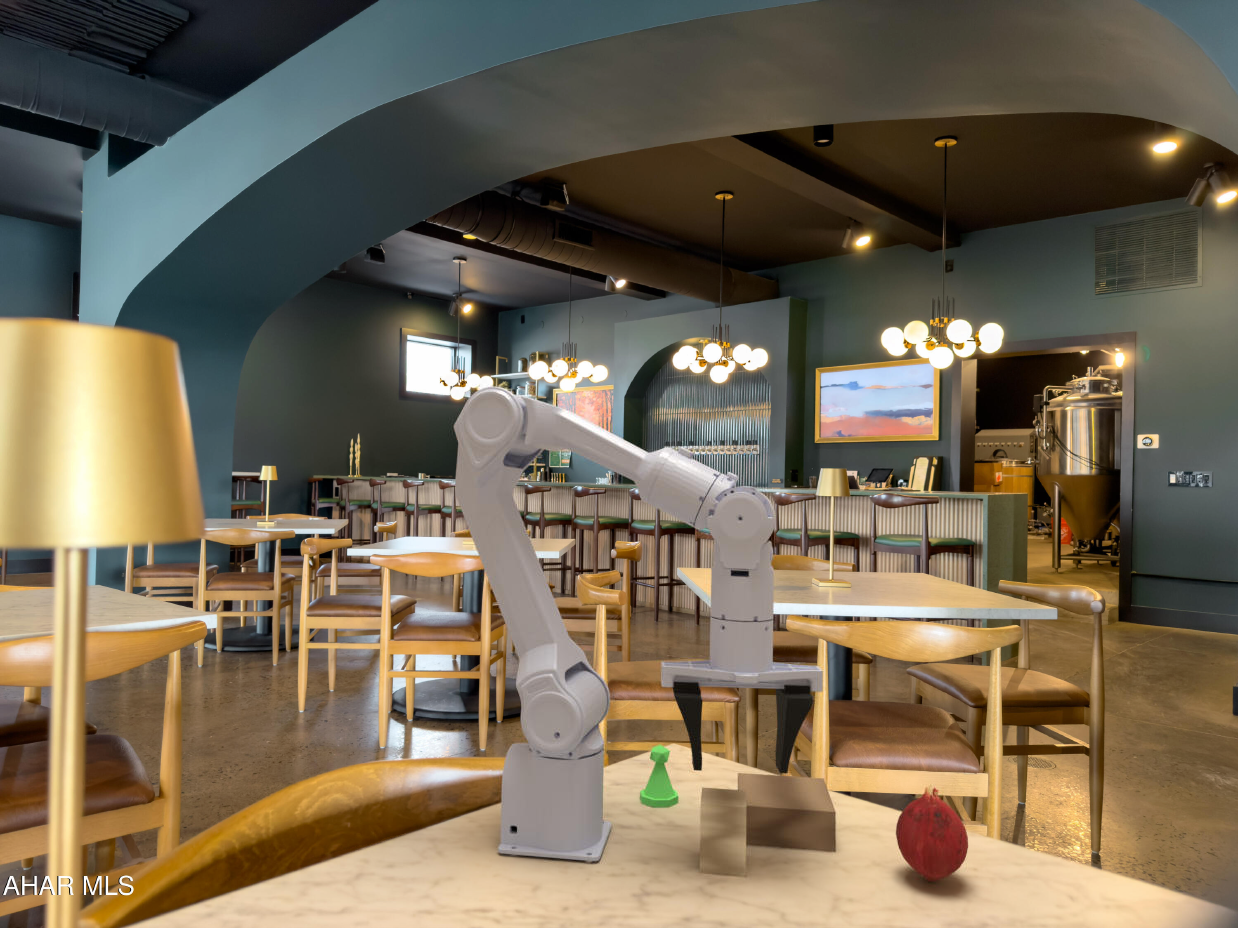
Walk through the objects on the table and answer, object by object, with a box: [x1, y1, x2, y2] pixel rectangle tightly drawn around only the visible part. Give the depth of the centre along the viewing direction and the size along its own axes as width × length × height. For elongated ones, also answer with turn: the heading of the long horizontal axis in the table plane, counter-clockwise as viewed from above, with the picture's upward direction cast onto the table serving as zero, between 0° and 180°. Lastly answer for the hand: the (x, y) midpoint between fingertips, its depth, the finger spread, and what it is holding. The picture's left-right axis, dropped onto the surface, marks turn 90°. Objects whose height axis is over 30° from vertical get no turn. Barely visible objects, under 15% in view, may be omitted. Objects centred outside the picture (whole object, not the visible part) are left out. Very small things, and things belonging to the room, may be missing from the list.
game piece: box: [639, 744, 679, 809], centre depth 84 cm, size 4×4×6 cm
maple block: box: [699, 786, 747, 878], centre depth 69 cm, size 4×4×6 cm
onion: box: [895, 785, 969, 883], centre depth 66 cm, size 6×6×8 cm
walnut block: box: [737, 772, 837, 853], centre depth 77 cm, size 9×9×4 cm
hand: (739, 768), depth 69 cm, fingers open, 7 cm apart
